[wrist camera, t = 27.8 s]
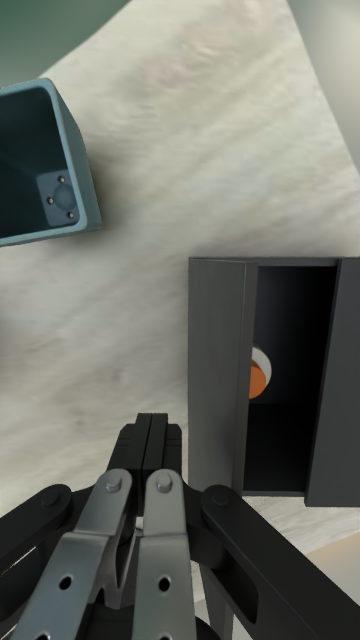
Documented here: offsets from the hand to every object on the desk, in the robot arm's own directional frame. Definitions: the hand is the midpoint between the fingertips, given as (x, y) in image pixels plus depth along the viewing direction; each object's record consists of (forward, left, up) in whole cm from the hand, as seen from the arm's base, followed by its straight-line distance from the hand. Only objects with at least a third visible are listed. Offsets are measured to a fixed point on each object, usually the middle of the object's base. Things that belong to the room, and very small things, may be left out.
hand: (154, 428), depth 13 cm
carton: (0, -10, -16) cm, 19 cm away
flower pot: (+14, +10, -16) cm, 24 cm away
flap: (0, -3, +1) cm, 3 cm away
